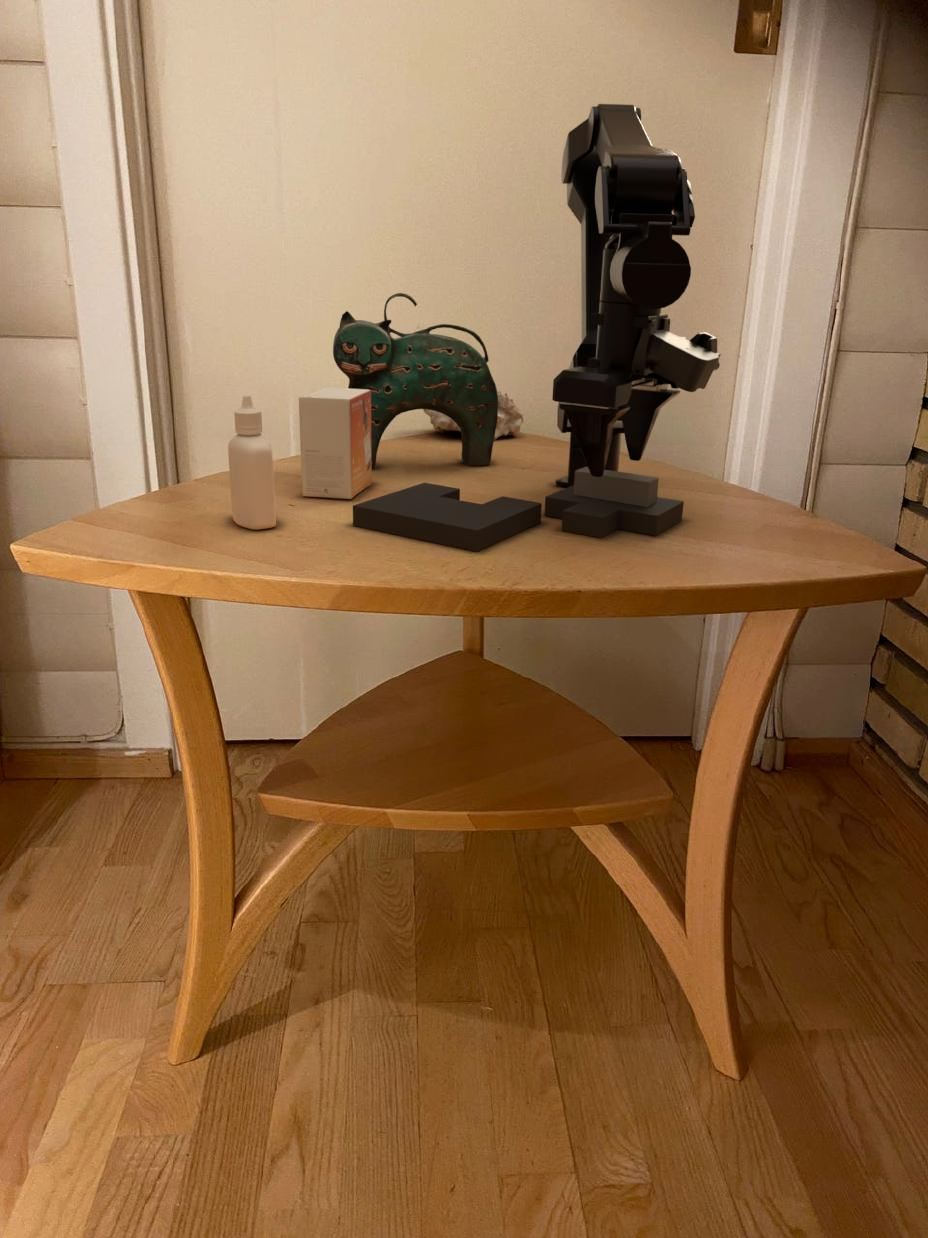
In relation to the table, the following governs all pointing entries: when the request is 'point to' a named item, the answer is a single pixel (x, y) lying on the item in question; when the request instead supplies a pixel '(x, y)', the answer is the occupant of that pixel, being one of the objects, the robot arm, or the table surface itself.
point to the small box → (335, 442)
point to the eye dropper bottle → (251, 471)
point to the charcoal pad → (446, 516)
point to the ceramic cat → (420, 379)
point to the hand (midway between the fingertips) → (616, 467)
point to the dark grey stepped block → (613, 505)
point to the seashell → (506, 421)
